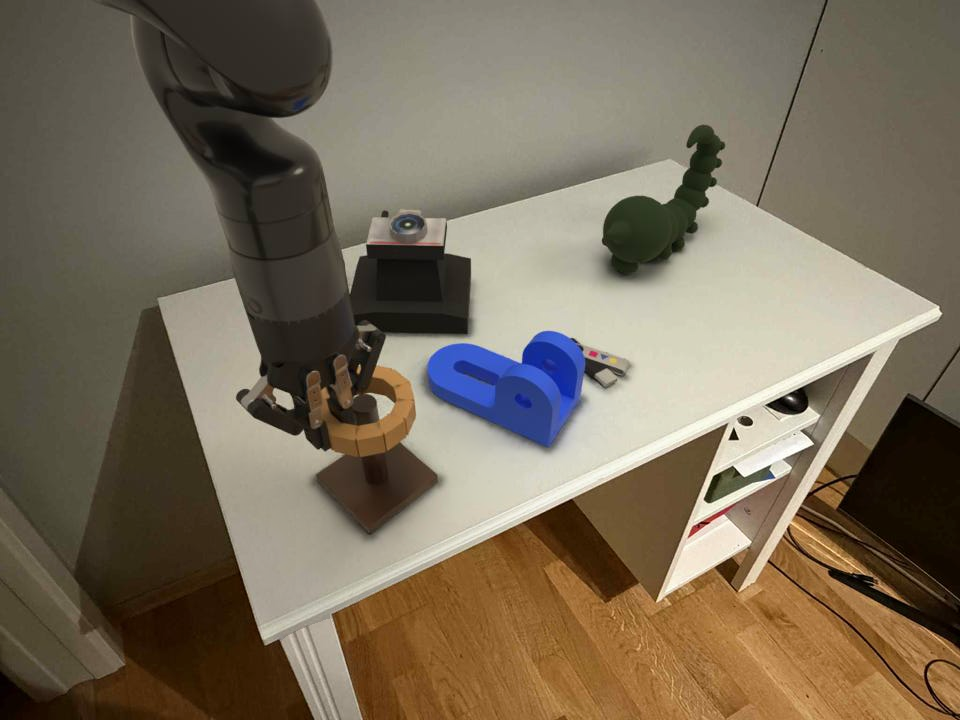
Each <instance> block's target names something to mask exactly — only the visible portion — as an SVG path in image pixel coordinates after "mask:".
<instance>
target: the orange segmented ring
mask: <svg viewBox="0 0 960 720" xmlns="http://www.w3.org/2000/svg"><path fill="white" fill-rule="evenodd" d="M360 370H361V366H360V365H359V366H358V369H357V373H358V374H359V373H360ZM321 393H322V399H323V406H322V407H321V410H322V416H323V420H324V421H325V422H326V424H327V428H328V432H329V434H328V435H329V439H330V443H331V446H332V447H331V448H330V449H329V450H331V451H333V452H334V453H338V454H343V455H345V454H346V455H351V456H355V457H358V456H359V455H360V457H364V456H368V455H373V454H378V453H383V452H386V451H385V449H386V450H387V451H388V450H390V449H391V448H392V447H394V446H395V445H396V444H398V443H399V442H400V443H402V441H404V440H405V439H406V438H407V436H409V434H410V432H411V430H412V427H413V425H414V423H415V421H416V418H417V410H416V401H415V396H414V391H413V389H412V384H411V382H410V380H409V379H407V378H406V377H405V376H403V375H402V374H401V373H399V372H398V371H397V370H395V368H394V369H393V368H392V367H387V366H382V365H376V367H375V370H374V373H373V376H372V379H371V382H370V385H369V387H368V389H367V390H366V391H365V392H364V393H359V392H358V393H357V394H356V395H355V396H354V397H356V396H358V395H361V394H374V395H378V396H384V397H386V398H387V399H388V400H390V401H391V402H392V403H393V404H394V405H393V406H392V409H391V411H390V413H388V414H387V415H385V416H383V417H382V418H380V420H379V421H378V422H376V423H371V424H366V425H361V426H355V425H350V424H346V423H341V422H340V421H339V420H338V419H336V418H335V417H334V416H333V415H332V414H331V412H330V411H329V408H328V404H327V400H326V399H328V398H329V397H330V396H329V395H328V394H327V393H326V390H325V388H323V389H322V390H321Z"/></svg>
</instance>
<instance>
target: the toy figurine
mask: <svg viewBox="0 0 960 720" xmlns="http://www.w3.org/2000/svg"><path fill="white" fill-rule="evenodd" d="M685 144H686V149H691V148H692V147H693V146H694V145H695V149H696V150H695V151H694V152H693V153H692V155H690V158H689V167H688V168H687V170H685V171H684V173H683V175H682V179H681V183H682V184H680V185H679V186H678V187H677V188H676V189H675V192H674V194H673V198H671V199H670V200H668V201H667V202H666V203H661V202H660V201H658V200H656V199H655V198H653V197H650V196H647V195H633V196H628V197H625V198H623V199H621V200H619V201H618V202H616V203H615V204H614V205H613V206H612V207H611V208H610V210H608V212H607V213H606V216H605V218H604V221H603V225H602V238H601V243H602V245H603V246H605V247H606V248H607V249H608V250H609V252H610V253H611V254H612V255H611V257H610V264H611V266H612V267H613V268H614V269H615V270H616V271H618V272H620V273H622V274H625V275H631V274H634V273H635V272H637V271H638V269H639V265H640V264H644V263H646V262H649V261H652V260H653V259H655V258H656V259H659V260H661V261H666V260H668V259H669V258H670V257H671V256H672V254H673V250H674V251H677V252H678V251H682V250H683V249H684V248H685V245H686V240H685V239H684V238H683V237H684V236H685V235H686V234H690V235H693V234H695V233H697V231H698V228H699V224H698V223H697V222H696V221H695V220H696V218H697V212H698V211H699V210H700V209H701V208H702V209H704V208H706V207H708V205H709V204H710V199H709V197H708V196H707V194H706V191H707V190H709V188H714V187H716V185H717V184H718V179H717V178H716V177H713V175H712V173H713V172H714V171H715V169H719V168H720V167H721V166H722V165H723V160H722V159H721V158H720V157H718V155H719V153H720V151H723V150H724V149H726V143H725V141H722V140H721V138H720V137H719V136H718V135H717V134H716V133H715V130H714V128H713V127H712V126H710V125H708V124H700V125H697V126H695V127H694V128H693V130H691V132H690V134H689V136H688V138H687V141H686V143H685Z"/></svg>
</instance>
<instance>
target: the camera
mask: <svg viewBox="0 0 960 720" xmlns="http://www.w3.org/2000/svg"><path fill="white" fill-rule="evenodd" d="M389 214H390V212H389V210H388V211H387V210H385V209H384V210H382V211H381V214H380V215H381V216H372V217H371V221H370V226H369V230H368V234H367V239H366V243H365V248H366V255H361V256H359V257H358V261H357V264H356V267H355V271H354V276H353V279H352V283H351V288H350V291H349V293H350V298H351V304H352V310H353V315H354V321H355V325H356V326H358V325H359V323H360V322H361V321H363V320H367V321H368V322H370V323H371V324H372V325H374V326H375V327H376V328H378V329H379V330H380V331H382V332H383V333H407V334H408V333H409V334H453V335H454V334H457V335H458V334H459V335H468V333H469V317H470V316H469V315H470V299H471V296H470V295H471V283H472V282H471V281H472V258H470V257H466V256H462V255H458V254H457V255H456V254H452V253H447V252H446V253H445V251H446V241H447V234H448V233H447V232H448V222H447V218H445V217H444V218H443V217H441V218H440V217H425V216H424V215H423V211H422V209H397V214H395V215H394V216H391V217H389Z"/></svg>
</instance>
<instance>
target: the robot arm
mask: <svg viewBox="0 0 960 720" xmlns="http://www.w3.org/2000/svg"><path fill="white" fill-rule="evenodd" d="M91 1H92V2H94V3H97V4H99V5H102V6H104V7H107V8H110V9H114V10H116V11H119V12H122V13H125V14H127V15H130V30H131V31H130V33H131V34H130V35H131V39H132V45H133V48H134V49H133V50H134V53H135V57H136V59H137V63H138V66H139V69H140V70H141V73H142V75H143V77H144V80H145V82H146V84H147V86H148V88H149V90H150V93H151V94H152V96H153V97H154V99H155V101H156V103H157V105H158V106H159V108H160V110H161V112H162V113H163V115H164V117H165V118H166V119H167V121H168V123H169V124H170V127H171V129H173V131H174V133H175V134H176V136H177V138H178V139H179V141H180V143H181V144H182V146H183V148H184V149H185V151H186V153H187V155H188V157H190V159H191V161H192V162H193V163H194V165H195V166H196V168H197V169H198V170H199V172H200V173H201V175H202V176H203V178H204V179H205V181H206V182H207V184H208V186H209V188H210V190H211V194H212V197H213V201H214V205H215V209H216V212H217V215H218V218H219V221H220V224H221V227H222V231H223V234H224V237H225V240H226V242H227V248H228V250H229V251H228V252H229V257H230V265H231V269H232V274H233V277H234V280H235V283H236V287H237V290H238V292H239V295H240V298H241V301H242V306H243V307H244V311H245V314H246V317H247V320H248V323H249V326H250V329H251V332H252V336H253V338H254V342H255V344H256V347H257V349H258V352H259V354H260V363H259V368H258V373H259V376H260V378H259V379H258V380H257V382H256V383H255V384H254V385H253V387H252V388H251V389H248V388H242V389H240V390H239V391H238V392H237V393H236V395H235V400H236V402H238V403H239V405H241V407H242V408H243V409H244V410H245V411H246V412H247V413H248V414H250V416H251V417H252V418H253V419H255V420H257V421H260V422H262V423H264V424H266V425H268V426H271V427H274V428H276V429H277V430H280V431H282V432H284V433H286V434H289V435H291V436H294V437H296V436H298V435H301V434H302V432H303V434H304V436H305V439H306V441H307V442H309V443H310V444H311V445H312V447H314V448H315V449H316V450H317V451H319V450H321V451H323V452H325V453H326V452H327V451H329V450H331V449H330V448H331V447H332V446H331V443H330V439H329V435H328V434H329V432H328V428H327V424H326V422H325V421H324V420H323V416H322V410H321V407H322V406H323V399H322V393H321V390H322V389H323V388H325V390H326V393H327V394H328V395H329V396H330V397H329V398H328V399H326V400H327V404H328V408H329V411H330V412H331V414H332V415H333V416H334V417H335V418H336V419H338V420H339V421H340V422H341V423H346V424H350V425H355V417H354V412H353V408H352V404H353V402H354V399H353V398H355V397H356V396H357V395H356V394H357V393H358V392H359V393H364V392H365V391H366V390H367V389H368V387H369V385H370V382H371V379H372V376H373V373H374V370H375V367H376V365H377V364H378V362H379V358H380V357H381V354H382V350H383V347H384V345H385V342H386V339H387V334H386V333H385V332H382V331H380V330H379V329H378V328H376V327H375V326H374V325H372V324H371V323H370V322H368V321H367V320H363V321H361V322H360V323H359V325H358V326H356V325H355V321H354V315H353V310H352V304H351V298H350V288H349V283H348V282H349V281H348V275H347V271H346V262H345V259H344V255H343V250H342V247H341V244H340V240H339V238H338V234H337V232H336V228H335V225H334V219H333V214H332V208H331V202H330V196H329V192H328V185H327V182H326V177H325V172H324V167H323V163H322V160H321V158H320V156H319V154H318V152H317V151H316V150H315V148H314V147H313V146H312V145H311V144H309V143H308V142H307V141H306V140H304V139H303V138H301V137H300V136H297V135H296V134H294V133H292V132H291V131H289V130H287V129H285V128H284V127H282V126H281V125H280V124H278V123H277V122H276V121H275V120H274V119H285V118H292V117H294V116H299V115H300V114H303V113H304V112H306V111H308V110H309V109H311V108H312V107H313V106H314V105H316V104H317V103H318V102H319V101H320V99H321V98H322V97H323V95H324V94H325V92H326V90H327V87H328V86H329V83H330V80H331V78H332V72H333V64H334V52H333V50H334V49H333V44H332V37H331V32H330V29H329V26H328V22H327V19H326V17H325V15H324V13H323V11H322V9H321V6H320V4H319V2H318V0H91ZM358 366H361V370H360V373H359V374H358V373H357V369H358ZM377 366H378V365H377ZM274 389H276V390H278V391H281V392H283V393H284V392H285V393H287V394H289V395H290V397H291V398H292V405H293V408H291V409H288V408H286V407H285V406H283V405H281V404H278V403H277V397H276V396H275V395H274ZM355 395H356V396H355Z"/></svg>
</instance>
